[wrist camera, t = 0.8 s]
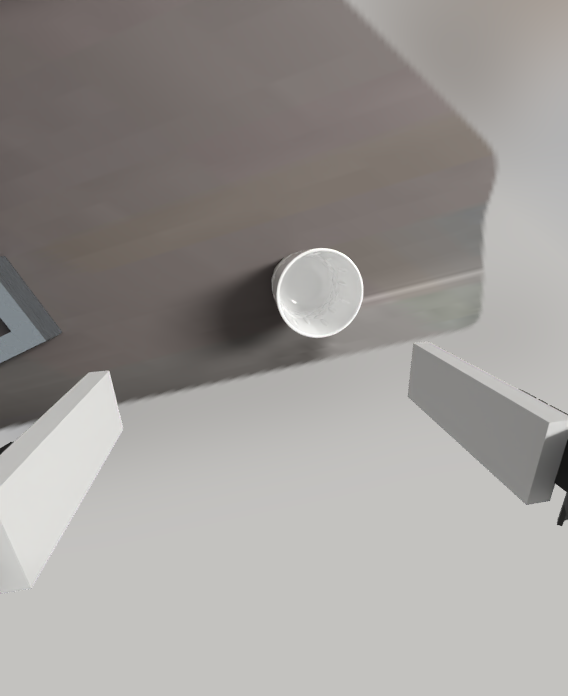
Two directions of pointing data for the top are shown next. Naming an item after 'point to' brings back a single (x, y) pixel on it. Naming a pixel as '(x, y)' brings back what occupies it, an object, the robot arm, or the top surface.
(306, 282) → the white cup
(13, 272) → the block
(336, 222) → the top surface
